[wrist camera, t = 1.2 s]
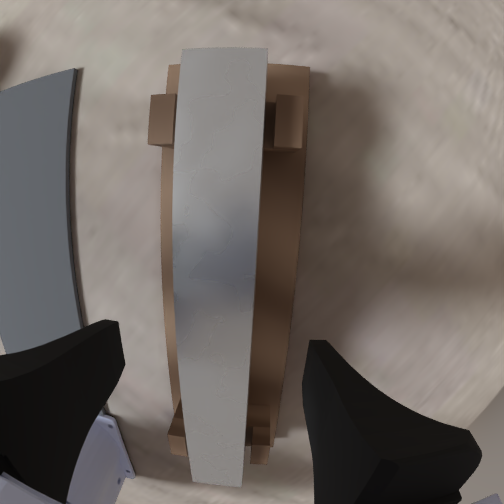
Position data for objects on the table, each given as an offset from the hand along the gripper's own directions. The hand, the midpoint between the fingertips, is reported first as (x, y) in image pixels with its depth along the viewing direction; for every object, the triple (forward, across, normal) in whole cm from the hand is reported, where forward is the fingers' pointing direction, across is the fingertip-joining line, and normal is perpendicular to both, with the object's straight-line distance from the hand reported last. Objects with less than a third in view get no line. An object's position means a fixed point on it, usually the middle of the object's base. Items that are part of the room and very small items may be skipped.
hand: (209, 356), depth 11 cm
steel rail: (+4, 0, 0) cm, 4 cm away
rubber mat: (+6, +15, +1) cm, 16 cm away
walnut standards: (+7, 0, 0) cm, 7 cm away
